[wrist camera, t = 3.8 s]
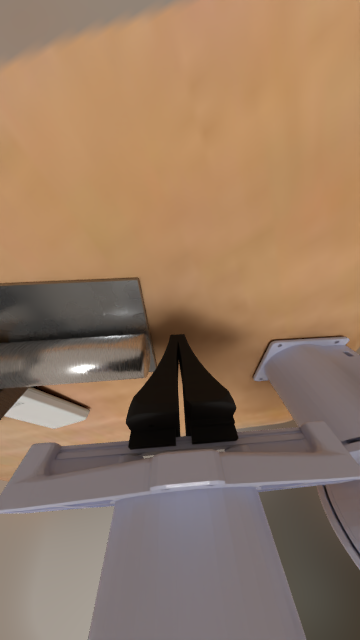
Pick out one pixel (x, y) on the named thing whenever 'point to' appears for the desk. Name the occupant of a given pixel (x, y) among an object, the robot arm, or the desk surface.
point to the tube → (74, 360)
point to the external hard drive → (46, 410)
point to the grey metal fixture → (69, 315)
